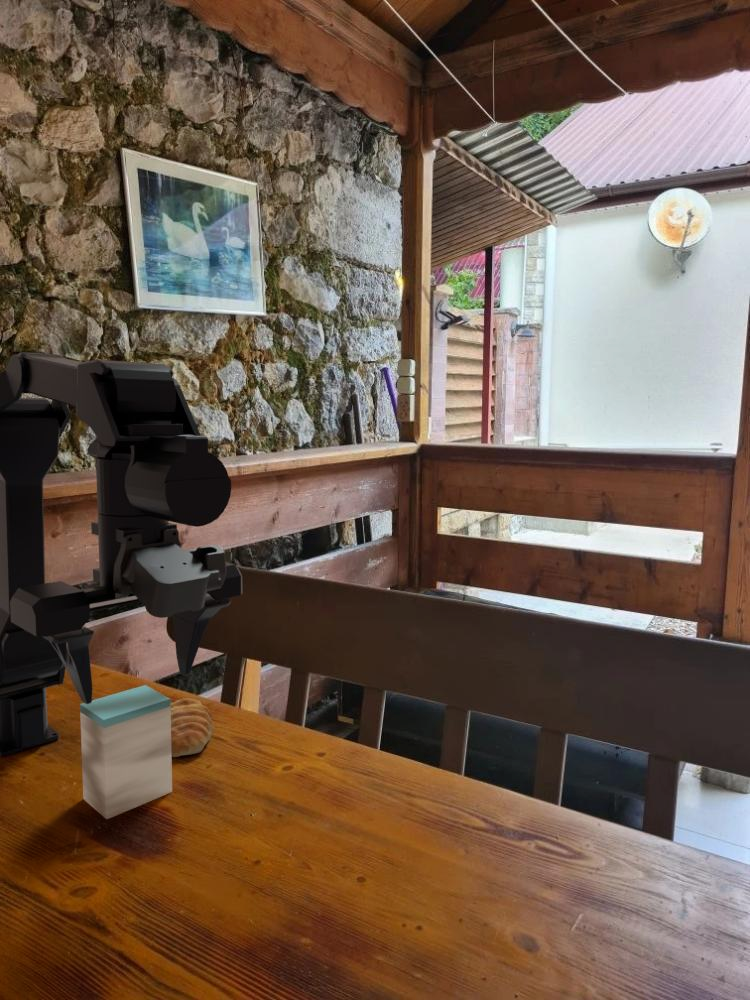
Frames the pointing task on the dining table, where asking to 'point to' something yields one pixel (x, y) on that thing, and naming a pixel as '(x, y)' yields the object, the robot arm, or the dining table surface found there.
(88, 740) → the birch block
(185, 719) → the pastry
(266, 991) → the dining table surface
